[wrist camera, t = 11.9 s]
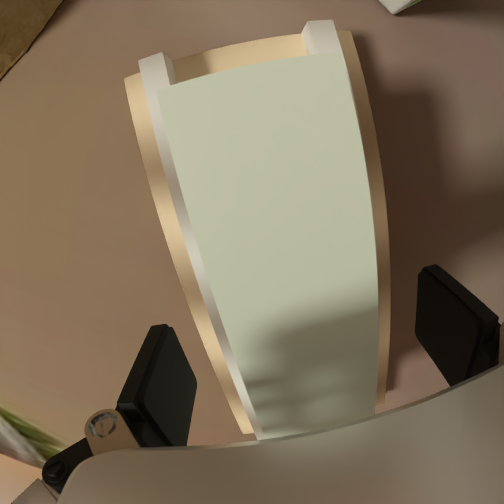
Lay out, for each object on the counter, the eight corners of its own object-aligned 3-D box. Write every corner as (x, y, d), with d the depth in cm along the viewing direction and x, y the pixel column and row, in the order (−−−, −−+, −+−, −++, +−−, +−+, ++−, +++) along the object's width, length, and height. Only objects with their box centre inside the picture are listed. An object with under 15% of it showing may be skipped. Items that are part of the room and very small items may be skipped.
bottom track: (132, 82, 11) (109, 72, 9) (343, 36, 11) (361, 19, 8) (243, 423, 19) (242, 450, 17) (380, 394, 18) (390, 419, 16)
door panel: (207, 117, 11) (155, 90, 5) (291, 99, 11) (340, 52, 4) (281, 401, 17) (291, 500, 10) (337, 389, 17) (364, 484, 10)
